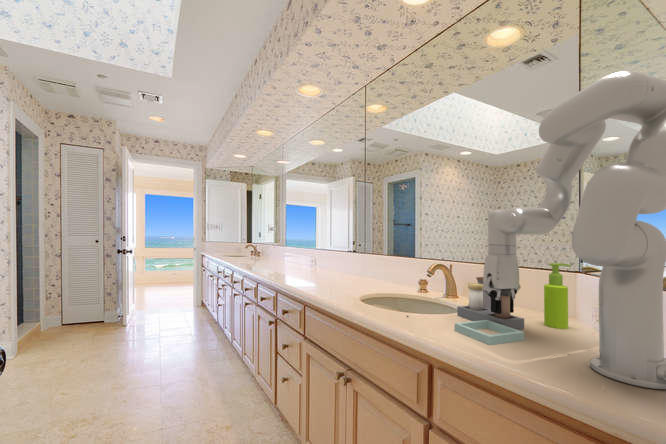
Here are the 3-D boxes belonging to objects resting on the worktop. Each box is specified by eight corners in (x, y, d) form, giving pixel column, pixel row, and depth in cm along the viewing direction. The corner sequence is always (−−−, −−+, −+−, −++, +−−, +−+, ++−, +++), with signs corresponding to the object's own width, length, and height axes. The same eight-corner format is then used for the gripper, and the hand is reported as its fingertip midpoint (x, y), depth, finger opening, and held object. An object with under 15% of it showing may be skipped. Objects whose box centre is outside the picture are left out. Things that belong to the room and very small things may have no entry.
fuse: (486, 318, 100) (486, 284, 101) (475, 320, 99) (476, 285, 99) (475, 315, 105) (475, 282, 105) (465, 316, 103) (465, 283, 103)
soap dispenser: (576, 333, 90) (575, 264, 91) (549, 331, 91) (549, 263, 92) (565, 327, 96) (565, 262, 97) (540, 325, 97) (540, 262, 98)
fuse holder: (524, 332, 90) (524, 318, 90) (503, 335, 87) (503, 320, 87) (475, 316, 107) (475, 304, 107) (457, 318, 104) (457, 306, 104)
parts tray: (524, 343, 80) (524, 332, 80) (489, 349, 76) (489, 336, 76) (486, 330, 91) (486, 319, 91) (454, 334, 87) (454, 323, 87)
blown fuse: (514, 327, 91) (514, 290, 91) (503, 329, 89) (503, 290, 90) (501, 323, 95) (501, 287, 96) (490, 324, 94) (489, 288, 94)
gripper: (511, 250, 100) (511, 307, 99) (470, 250, 94) (470, 311, 93) (533, 251, 93) (533, 313, 92) (491, 251, 87) (491, 317, 86)
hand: (502, 311), depth 92 cm, fingers closed on blown fuse, 4 cm apart
